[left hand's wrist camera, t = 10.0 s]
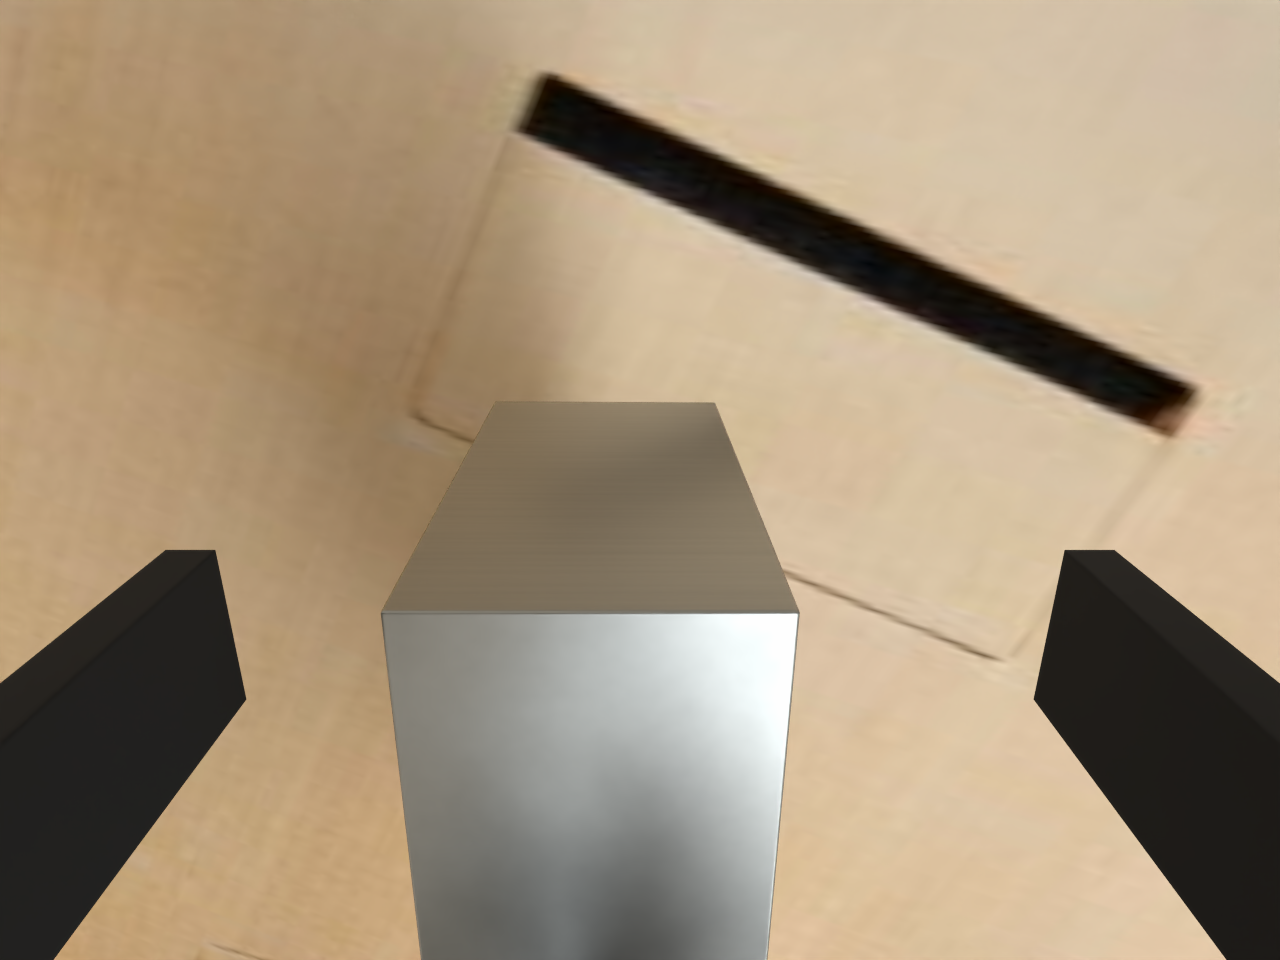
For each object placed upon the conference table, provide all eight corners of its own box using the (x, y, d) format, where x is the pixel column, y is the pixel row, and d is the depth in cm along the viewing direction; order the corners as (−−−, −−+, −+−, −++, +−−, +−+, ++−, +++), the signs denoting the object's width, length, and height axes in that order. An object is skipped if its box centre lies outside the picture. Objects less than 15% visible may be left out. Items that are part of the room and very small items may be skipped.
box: (494, 401, 24) (379, 611, 13) (715, 402, 24) (801, 611, 13) (523, 945, 32) (469, 1382, 21) (690, 943, 32) (729, 1375, 21)
